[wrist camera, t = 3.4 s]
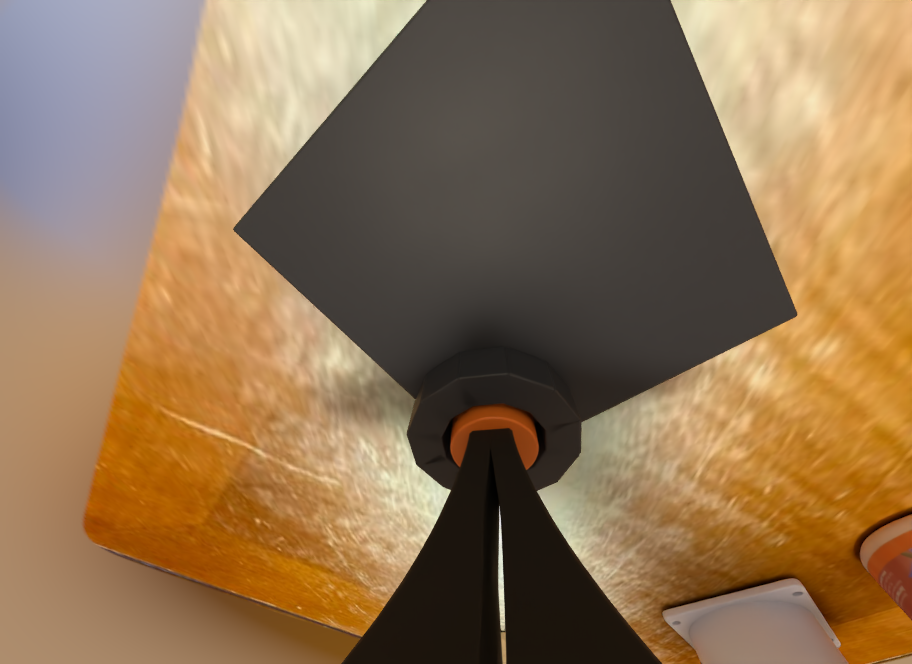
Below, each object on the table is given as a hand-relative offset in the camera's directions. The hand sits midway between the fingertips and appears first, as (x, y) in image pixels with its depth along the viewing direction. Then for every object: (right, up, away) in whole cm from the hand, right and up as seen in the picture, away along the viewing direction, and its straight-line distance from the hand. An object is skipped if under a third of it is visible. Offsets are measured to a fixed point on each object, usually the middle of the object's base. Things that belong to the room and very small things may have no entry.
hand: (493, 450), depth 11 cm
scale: (+1, +7, 0) cm, 7 cm away
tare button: (0, +1, +1) cm, 2 cm away
